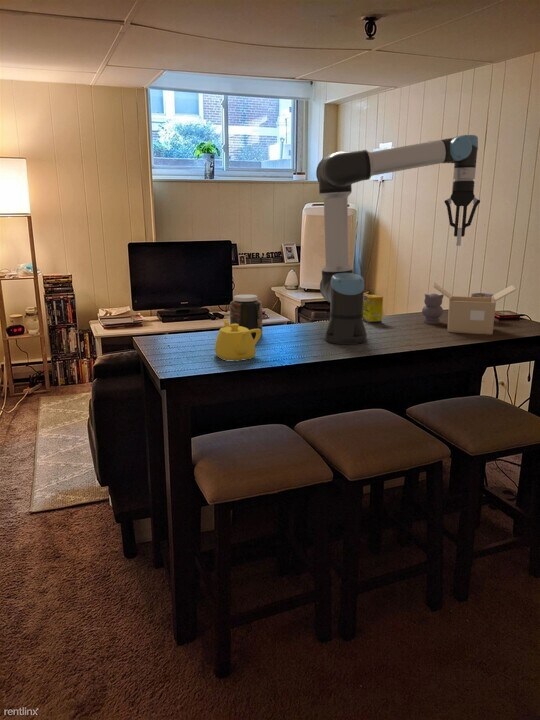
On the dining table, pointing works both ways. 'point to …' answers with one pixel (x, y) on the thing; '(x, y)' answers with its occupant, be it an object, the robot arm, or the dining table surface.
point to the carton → (471, 315)
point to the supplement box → (372, 308)
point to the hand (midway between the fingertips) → (458, 245)
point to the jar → (246, 312)
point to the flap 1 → (442, 291)
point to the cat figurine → (432, 308)
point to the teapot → (236, 342)
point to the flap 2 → (503, 293)
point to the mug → (482, 295)
